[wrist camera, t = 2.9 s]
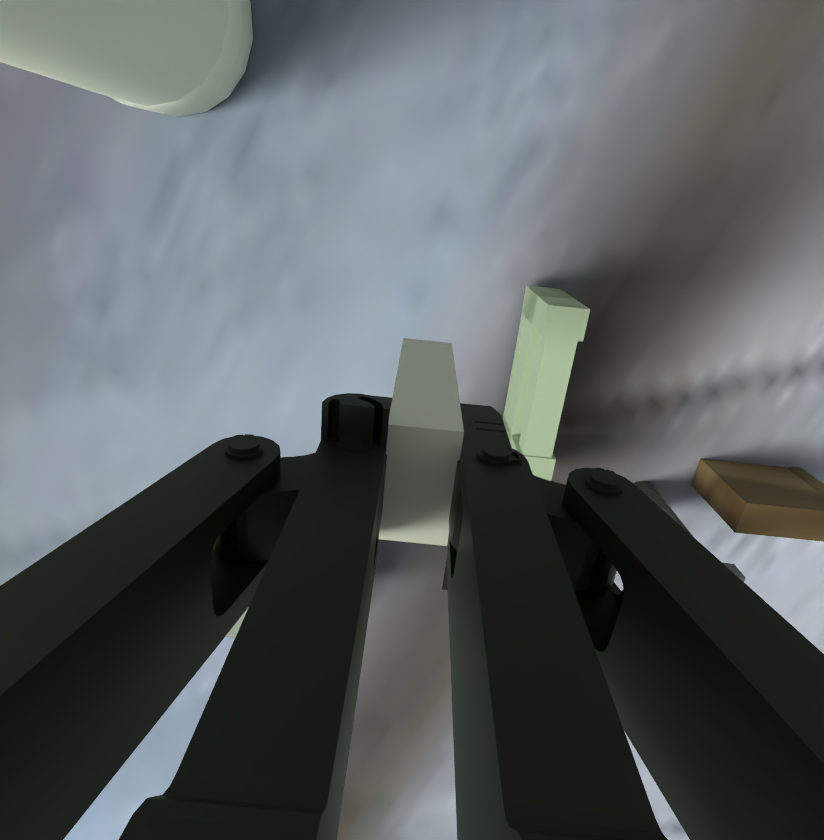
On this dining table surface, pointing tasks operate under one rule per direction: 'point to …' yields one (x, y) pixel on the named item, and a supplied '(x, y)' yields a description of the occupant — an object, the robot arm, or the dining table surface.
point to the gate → (542, 373)
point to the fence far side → (763, 498)
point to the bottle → (133, 48)
